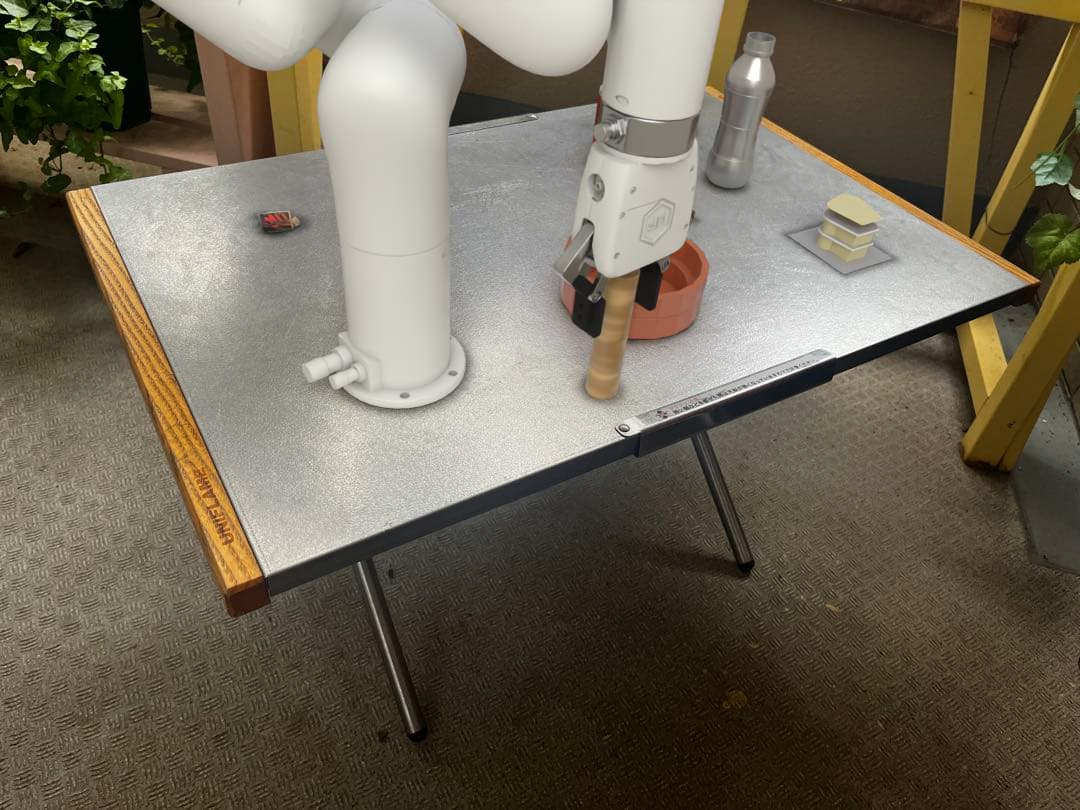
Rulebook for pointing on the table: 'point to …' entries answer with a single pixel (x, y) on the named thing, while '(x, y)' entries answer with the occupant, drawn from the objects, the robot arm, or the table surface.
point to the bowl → (664, 295)
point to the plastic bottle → (742, 112)
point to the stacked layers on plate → (845, 235)
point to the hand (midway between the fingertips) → (614, 314)
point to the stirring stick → (612, 337)
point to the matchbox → (277, 221)
